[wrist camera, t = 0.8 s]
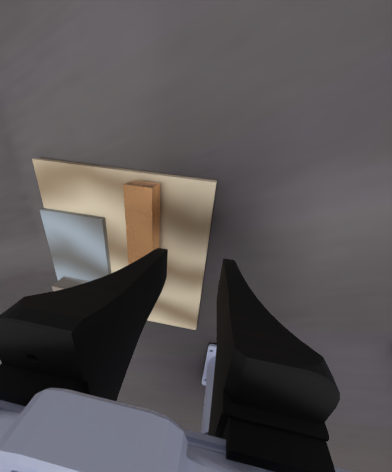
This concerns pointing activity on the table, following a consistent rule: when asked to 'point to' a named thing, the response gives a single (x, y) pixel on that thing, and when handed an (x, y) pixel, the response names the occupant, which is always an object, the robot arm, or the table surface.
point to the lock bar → (141, 218)
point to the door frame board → (114, 229)
